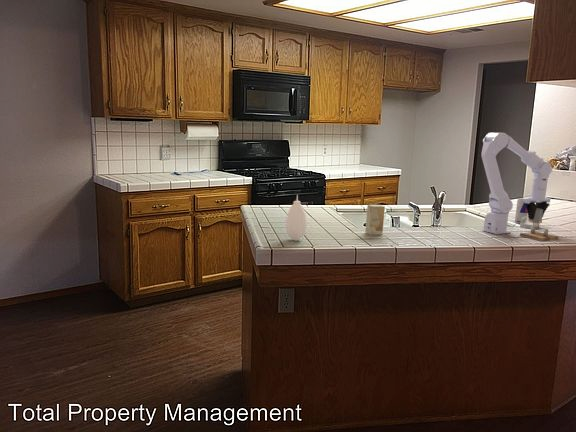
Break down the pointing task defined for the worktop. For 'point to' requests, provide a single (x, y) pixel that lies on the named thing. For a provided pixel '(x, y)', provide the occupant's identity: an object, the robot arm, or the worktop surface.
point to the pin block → (538, 235)
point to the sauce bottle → (296, 221)
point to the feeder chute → (528, 223)
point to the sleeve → (537, 216)
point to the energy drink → (520, 210)
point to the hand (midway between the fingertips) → (535, 218)
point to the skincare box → (375, 219)
